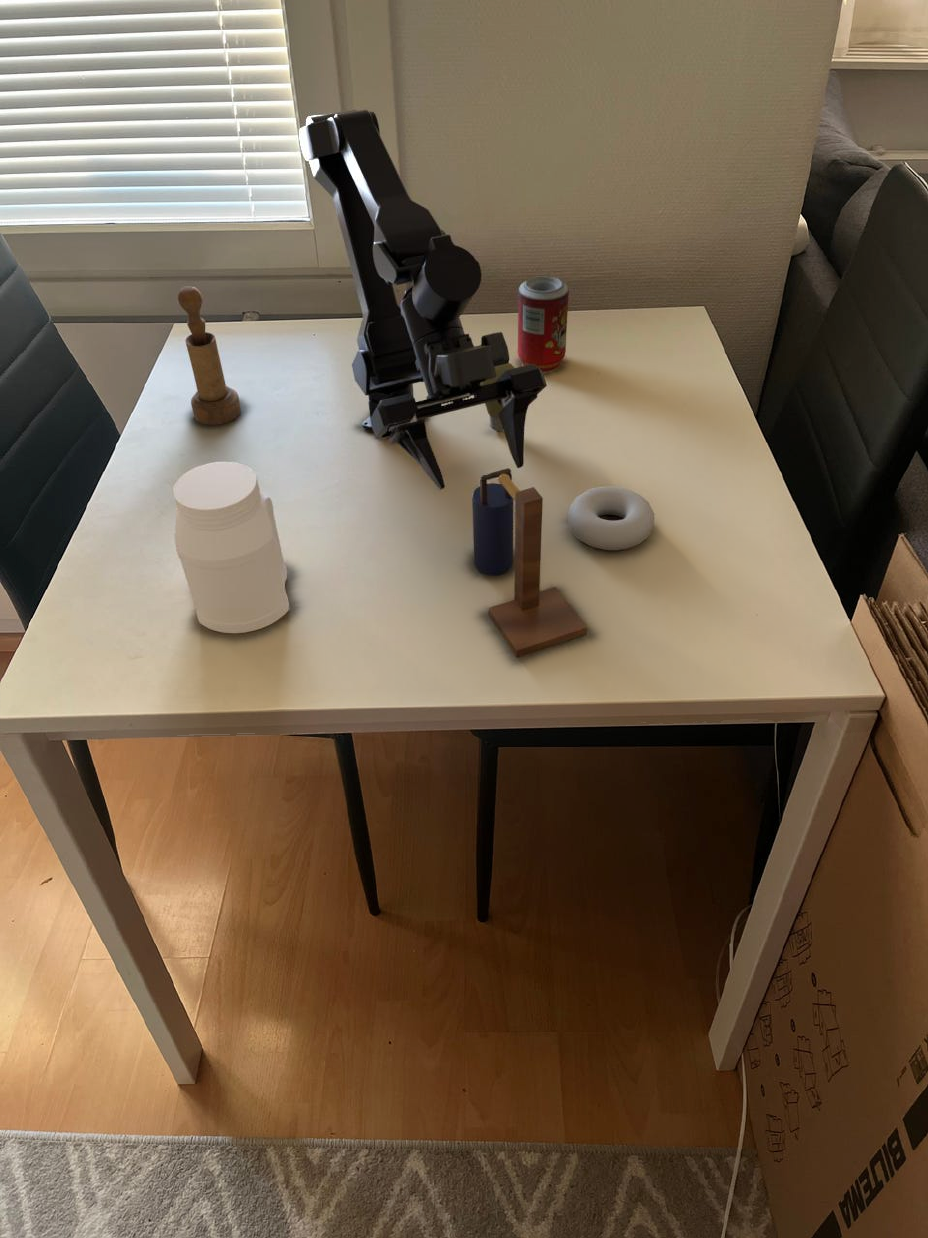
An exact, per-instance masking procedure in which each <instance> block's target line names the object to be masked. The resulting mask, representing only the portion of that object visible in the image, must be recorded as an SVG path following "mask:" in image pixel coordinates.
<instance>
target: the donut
mask: <svg viewBox="0 0 928 1238" xmlns="http://www.w3.org/2000/svg"><path fill="white" fill-rule="evenodd" d="M606 515H607V516H608V515H609V516H616V517H619V518H622V519H618V520H607V519H604V518H601V516H606ZM567 523H568V526H569V528H570V531H571V532H572V534H574V536H575V537H576V538H577V539H578V540H579V541H581V542H583V543H585V544H586V545H588V546H589V547H592V548H596V549H600V550H604V551H620V550H626V549H630V548H632V547H635V546H638V545H640V544H641V543H642V542H644V541H645V540H646V539H647V538H648V537H649V536H650V534H651V533H652V531H653V530H654V526H655V513H654V510H653V507H652V506H651V504H650V502H649V501H648V500H646V498H645V497H643V496H642V495H641V494H639V493H637V492H635V491H634V490H631V489H629V488H625V487H622V486H613V485H612V486H611V485H607V486H597V487H594V488H592V489H588V490H586V491H584V492H582V493H581V494H579V495H577V496H576V497H575V499H574V500H573V502H572V503H571V504H570V506H569V508H568V513H567Z"/></svg>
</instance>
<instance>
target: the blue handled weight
mask: <svg viewBox="0 0 928 1238" xmlns="http://www.w3.org/2000/svg"><path fill="white" fill-rule="evenodd" d="M501 474H507V475H509V477H510V479H511V481H512V482H513V479H512V478H513V474H512V469H511V468H509V467H507V468H504V469H500V470H497V471H493V472H489V473H486V474H482V475H481V476H480V479H479V486H478V487H476V488H475V489H474V490H473V492H472V494H471V502H472V504H471V505H472V507H471V509H472V541H473V565H474V567H475V569H476V570H477V571H478V572H479V573H482V574H484V575H488V576H499V575H503V574H505V573H508V572H509V571H510V570H511V569H512V567H513V565H514V508H515V500H514V499H513V498H512V497H511V495H510V494H509V493H508V492H507V490H506V489H505V488H504V487H503V485H501V484H500V483H499V482H498V483H496V482H491V483H488V481H489V480H493V479H496V478H499V476H500V475H501Z"/></svg>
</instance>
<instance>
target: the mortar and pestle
mask: <svg viewBox="0 0 928 1238" xmlns="http://www.w3.org/2000/svg"><path fill="white" fill-rule="evenodd" d="M177 300H178V304H179V306H180V307H181V308H182V309H183V310H184V311H185V313H187V315H188V321H187V322H186V324H187V328H188V330H189V331H190V333H191V334H189V335H188V336H187V337H186V338H185V340H184V341H185V345H186V350H187V353H188V357H189V361H190V365H191V368H192V373H193V378H194V382H195V386H196V392H195V394H193V396H192V397H191V399H190V406H191V409H192V413H193V417H194V419H195V420H196V421H197V422H199V423H200V424H203V425H212V426H213V425H222V424H225V423H228V422H230V421H232V420H234V419H236V418H237V417H238V416H239V415H240V414H241V411H242V407H241V402H240V397H239V394H238V392H237V390H235V389H234V388H232V387H229V386H227V384H226V380H225V375H224V371H223V366H222V362H221V358H220V352H219V347H218V343H217V339H216V336H215V334H213V333H211V332H208V331H206V319H204V318H202V317H201V316H200V315H201V310H202V306H203V301H204V300H203V295H202V293H201V292H200V290H199V289H198V288H197V287H195V286H191V285H188V286H184V287H182V288H181V289H180V290H179V292H178V294H177Z"/></svg>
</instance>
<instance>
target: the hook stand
mask: <svg viewBox="0 0 928 1238" xmlns="http://www.w3.org/2000/svg"><path fill="white" fill-rule="evenodd" d="M498 484H501V485H503V487H504V488H505V489H506V490H507V492H508V493H509V494H510V495H511V497H512V498H513V499H514V590H513V591H514V595H513V597H514V599H511V600H508V601H504V602H503V603H499V604H496V605H492V606H490V607H488V615H489V617H490V619H491V620H492V622H493V623H494V625H495V626H496V628H497V629H498V631H499V632H500V634H501V635H502V637H503V638H504V640H505V641H506V643H507V644H508V646H509V647H510V649H511V651H512V652H513V654H514V655H515V656H516V658H519V657H522V656H525V655H528V654H530V653H534V652H537V651H539V650H542V649H546V648H549V647H551V646H555V645H558V644H561V643H563V642H567V641H569V640H572V639H576V638H579V637H581V636H585V635H587V632H588V627H587V625H586V623H585V622H584V621H583V620H582V619H581V617H580V615H579V614H578V613H577V612H576V611H575V609H574V608H573V607H572V605H571V604H570V603H569V602H568V600H567V599H566V597H565V596H564V595H563V594H562V592H561V591H560V590H559V589H558V587H557V586H553V587H550V588H546V589H543V590H541V588H540V587H541V564H542V563H541V562H542V537H543V536H542V534H543V533H542V532H543V531H542V530H543V506H544V505H543V504H544V503H543V502H544V497H543V496H542V495H541V494H540V493H539V492H538V490H537V489H536V487H534V486H533V487H529V488H525V489H522V490H520V489H519V487H517V486H516V484H515V483H514V482H513V480H512V481H511V479H510V477H509V475H507V474H501V475H500V476H499V477H498Z"/></svg>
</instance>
